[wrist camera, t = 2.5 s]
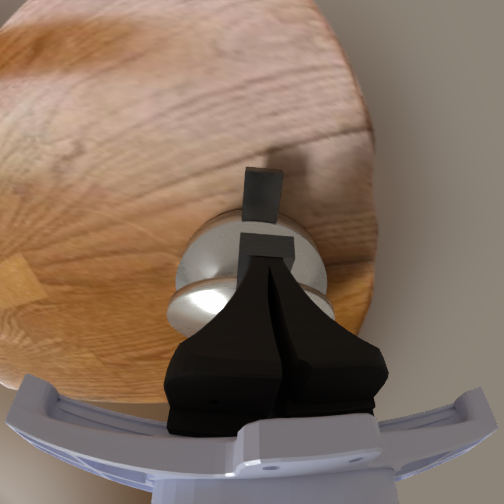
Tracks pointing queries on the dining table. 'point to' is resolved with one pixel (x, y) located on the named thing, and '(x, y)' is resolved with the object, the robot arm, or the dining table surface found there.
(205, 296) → the lid
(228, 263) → the pot
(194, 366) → the robot arm
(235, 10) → the dining table surface
